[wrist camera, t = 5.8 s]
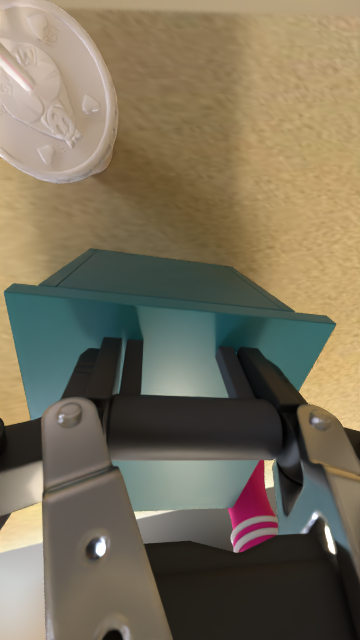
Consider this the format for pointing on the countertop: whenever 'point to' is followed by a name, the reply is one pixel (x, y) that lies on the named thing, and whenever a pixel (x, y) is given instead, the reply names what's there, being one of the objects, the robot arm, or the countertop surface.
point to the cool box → (162, 280)
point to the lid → (168, 384)
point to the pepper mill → (252, 514)
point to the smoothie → (53, 94)
